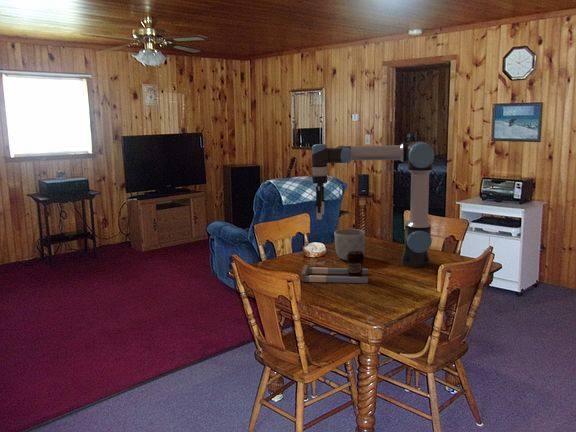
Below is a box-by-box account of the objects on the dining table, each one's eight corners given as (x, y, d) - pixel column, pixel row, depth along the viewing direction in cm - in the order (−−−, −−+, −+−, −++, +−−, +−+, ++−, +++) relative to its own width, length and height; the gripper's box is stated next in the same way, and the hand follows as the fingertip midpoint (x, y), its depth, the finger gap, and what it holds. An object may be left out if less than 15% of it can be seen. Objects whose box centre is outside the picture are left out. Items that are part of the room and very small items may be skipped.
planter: (357, 264, 281) (357, 236, 278) (329, 260, 290) (328, 233, 287) (369, 256, 295) (370, 230, 292) (342, 253, 304) (342, 227, 301)
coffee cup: (363, 281, 253) (363, 254, 250) (346, 280, 255) (346, 254, 252) (364, 275, 261) (364, 250, 259) (347, 275, 263) (347, 249, 261)
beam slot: (367, 273, 264) (367, 265, 264) (367, 283, 250) (367, 274, 249) (304, 272, 269) (304, 264, 268) (300, 281, 255) (300, 273, 254)
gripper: (314, 172, 277) (315, 212, 281) (309, 178, 253) (310, 221, 257) (329, 172, 276) (329, 212, 280) (325, 178, 252) (325, 221, 256)
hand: (320, 216), depth 269 cm, fingers open, 13 cm apart
